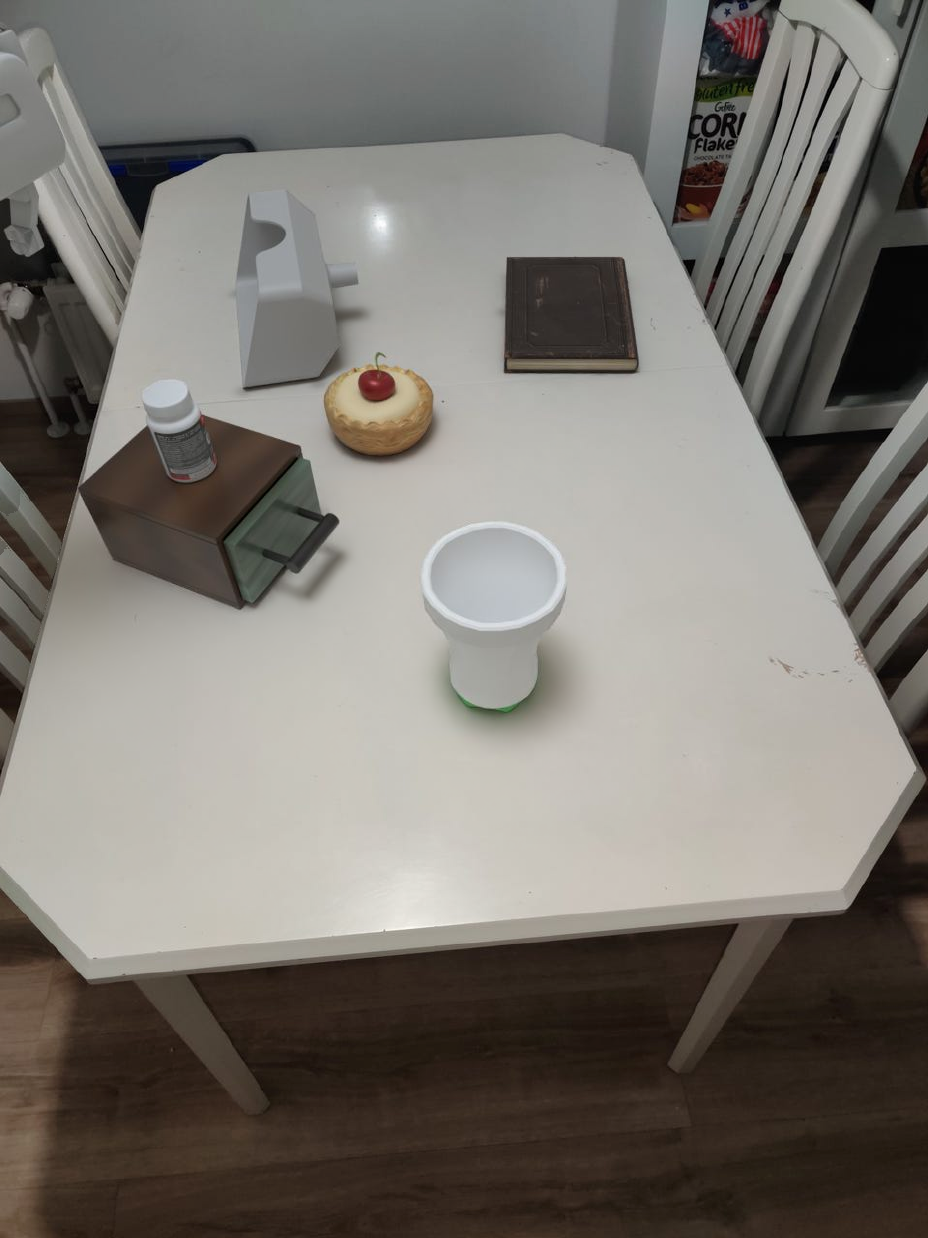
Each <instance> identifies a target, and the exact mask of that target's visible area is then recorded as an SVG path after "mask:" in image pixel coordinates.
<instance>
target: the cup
mask: <svg viewBox="0 0 928 1238" xmlns="http://www.w3.org/2000/svg"><path fill="white" fill-rule="evenodd" d="M419 578H420V587H421V593H422V599H423V605H424V610H425V612H426V613H427V615H428V616H429V619H431V620H432V622H433V624H434V625H435V626H436V627H437V628H438V629H439V630H441V632H443V634H444V636H445V638H446V639H447V641H448V644H449V648H450V649H449V650H450V655H449V664H448V665H449V666H448V667H449V678H450V683H451V685H452V687H453V689H454V691H455V692H456V693H457V695H458V697H459V698H460V699H461V701H462V702H463V704H464V705H466V706H467V707H469V708H471V707H472V708H473V707H474V708H475V707H477V708H482V709H491V710H497V711H500V712H504V713H507V712H511V711H512V710H513V709H514V708H515V707H517V705H519V704H520V703H521V702H522V701H523V700H524V699H525V698H527V697H528V696H529V695H530V694H531V692H533V690H534V688H535V687H536V685H537V680H538V672H539V671H538V670H539V658H538V654H537V652H538V646H539V643H540V641H541V639H542V637H543V635H544V634H545V633H546V632H547V631H549V630H550V629H551V628H552V626H554V624H555V622H556V621H557V620H558V618H559V616H560V615H561V612H562V609H563V606H564V604H565V601H566V594H567V586H568V567H567V563H566V561H565V558H564V554H563V553H562V552H561V551H560V550H559V548H558V547H557V546H556V545H555V544H554V543H553V542H552V541H551V540H550V539H548V538H547V537H546V536H544V535H543V534H542V533H540V532H538V531H536V530H533V529H532V528H530V527H527V526H525V525H521V524H517V523H514V522H510V521H484V522H483V521H482V522H476V523H471V524H470V523H469V524H467V525H464V526H462V527H459V528H457V529H454V530H452V531H449V532H448V533H447V534H445V535H444V536H443V535H442V537H440V538H438V539H437V540H436V541H435V543H434V544H433V545H432V546H431V547H430V549H429V550H428V552H427V553H426V556H425V557H424V560H423V561H422V563H421V570H420V577H419Z"/></svg>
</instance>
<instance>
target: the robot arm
mask: <svg viewBox="0 0 928 1238" xmlns="http://www.w3.org/2000/svg"><path fill="white" fill-rule="evenodd" d="M48 101H49V100H48V99H47V98H46V95H45V93H44V91H43V90H42V88H41V86H40V83H39V82H38V80H37V79H36V77H35V75H34V73H33V72H32V70H31V68H30V67H29V63H28V60H27V58H26V55H25V52H24V49H23V47H22V44H21V41H20V39H19V37H18V35H17V34H16V32H15V31H13V30H12V29H11V28H10V27H9V26H8V25H7V24H5V23H4V22H2V21H0V202H1V201H3V200H5V199H9V209H10V210H9V211H10V225H9V226H7V227H5V228H4V229H3V232H4V234H5V236H6V238H7V240H9V241H10V247H11V249H12V251H13V252H14V253H16V254H17V255H20V256H25V257H27V258H30V257H31V256H33V255H34V254H35V253H37V252H39V251H40V250H42V249H44V247H45V243H44V241H43V238H42V235H41V233H40V231H39V229H38V226H37V225H38V219H39V218H38V217H39V201H40V195H39V192H38V190H37V188H36V185H35V181H36V180H38V179H41V178H43V176H45V175H47V174H49V173H50V172H52V171H54V170H55V169H57V168H59V167H60V166H61V165H63V164H64V162H65V158H66V157H65V156H66V148H67V147H66V146H67V144H66V140H65V138H64V135H63V133H62V130H61V127H60V125H59V123H58V120H57V119H56V116H55V114H54V111H53V109H52V107H51V106H50V103H49V102H48Z"/></svg>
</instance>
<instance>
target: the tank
mask: <svg viewBox="0 0 928 1238" xmlns="http://www.w3.org/2000/svg"><path fill="white" fill-rule="evenodd" d="M320 237H321V236H320V232H319V227H318V223H317V217H316V213H315V212H313V211H312V210H311V209H310V208H309V207H308V206H306V205H305V204H304V203H303V202H302V201H300V199H298V198H297V197H296V196H295V195H294V194H292V193H291V192H290V191H289V190H288V189H287V188H279V189H271V190H264V191H263V190H262V191H254V192H248V194H247V199H246V205H245V212H244V220H243V226H242V234H241V241H240V248H239V256H238V262H237V270H236V276H235V277H236V278H235V301H236V311H237V312H236V315H237V328H238V341H239V355H240V369H241V382H242V388H245V389H246V388H251V387H257V386H266V385H271V384H279V383H285V382H287V383H288V382H292V381H299V380H306V379H307V380H308V379H313V378H319V377H320V375H321V374H322V372H323V371H324V369H325V368H326V367H327V365H328V363H329V362H330V361H331V359H332V358H333V356H334V354H335V353H336V352H337V350H338V348H339V347H340V340H339V333H338V326H337V321H336V320H337V319H336V314H335V309H334V301H333V297H332V292H331V290H334V289H338V288H344V287H350V286H357V285H359V277H358V271H357V265H356V262H344V263H334V264H328V263H326V262H325V256H324V251H323V247H322V242H321V238H320Z"/></svg>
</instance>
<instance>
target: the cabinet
mask: <svg viewBox="0 0 928 1238" xmlns="http://www.w3.org/2000/svg"><path fill="white" fill-rule="evenodd" d="M202 416H203V419H204V422H205V425H206V429H207V432H208V435H209V438H210V441H211V444H212V447H213V450H214V453H215V456H216V460H217V463H216V467H215V469H214V470H213V472H212V473H211V474H210V475H208V476H207V477H205V478H203V479H201V480H198V481H195V482H189V483H182V482H177V481H175V480H173V479H171V478H170V477H169V476H168V475H167V473H166V471H165V469H164V466H163V464H162V461H161V458H160V456H159V453H158V450H157V448H156V445H155V443H154V440H153V438H152V435H151V433H150V431H149V428H148V425H147V424H146V425H145V427H143V428H142V429H141V430H139V432H138V433H136V434H135V435H134V436H133V437H132V438H131V439H130V440H129V441H128V442H127V443H126V444H124V445H123V446H122V447H121V448H120V449H119V450H117V452H116V453H115V454H113V455H112V456H111V457H110V458H109V459H108V460H107V461H105V463H103V464H102V465H101V466H100V467H99V468H98V469H97V470H95V472H93V474H91V475H90V476H89V477H88V478H87V479H85V481H84V482H83V483H82V484H80V485H79V486H78V487H77V490H78V493H79V495H80V497H81V499H82V500H83V503H84V505H85V507H86V509H87V512H88V513H89V515H90V517H91V519H92V521H93V523H94V524H95V526H96V529H97V531H98V533H99V536H100V537H101V539H102V541H103V543H104V545H105V546H106V549H107V551H108V553H109V554H110V557H111V559H112V560H113V561H115V562H118V563H121V564H124V565H126V566H129V567H132V568H134V569H136V570H138V571H141V572H144V573H147V574H148V575H151V576H154V577H157V578H159V579H162V580H165V581H167V582H170V583H172V584H174V585H177V586H179V587H182V588H185V589H187V590H189V591H192V592H195V593H197V594H200V595H202V596H205V597H206V598H210V599H213V600H215V601H218V602H220V603H223V604H226V605H228V606H231V607H233V608H236V609H238V610H241V609H242V608H244V606H245V605H246V603H247V602H248V601H246V600H244V599H243V598H242V595H241V592H240V589H239V586H238V583H237V580H236V578H235V575H234V572H233V569H232V566H231V563H230V560H229V557H228V555H227V552H226V549H225V546H224V543H223V540H222V539H223V538H224V537H225V536H226V535H227V534H228V533H229V531H230V530H231V529H232V528H233V527H234V526H235V525H236V524H237V523H238V522H239V520H240V519H241V518H242V517H243V516H244V515H245V514H246V513H247V512H248V511H249V509H250V508H251V507H252V506H253V505H254V504H255V503H256V502H257V501H258V500H259V498H260V497H261V496H262V495H263V494H264V493H265V492H266V491H267V490H268V489H269V487H270V486H271V485H272V484H273V483H274V482H275V481H276V480H277V479H278V478H279V476H280V475H281V474H282V473H283V472H284V471H285V470H286V469H287V471H288V470H289V469H290V468H291V467H292V466H293V464H294V463H295V462H296V461H297V460H298V459H299V458H304V456H303V455H304V454H303V452H302V447H301V445H299V444H296V443H293V442H290V441H286V440H284V439H280V438H277V437H274V436H271V435H268V434H265V433H261V432H258V431H255V430H252V429H249V428H245V427H243V426H239V425H236V424H234V423H230V422H227V421H224V420H220V419H218V418H216V417H215V418H214V417H211V416H208V415H205V414H202Z"/></svg>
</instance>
